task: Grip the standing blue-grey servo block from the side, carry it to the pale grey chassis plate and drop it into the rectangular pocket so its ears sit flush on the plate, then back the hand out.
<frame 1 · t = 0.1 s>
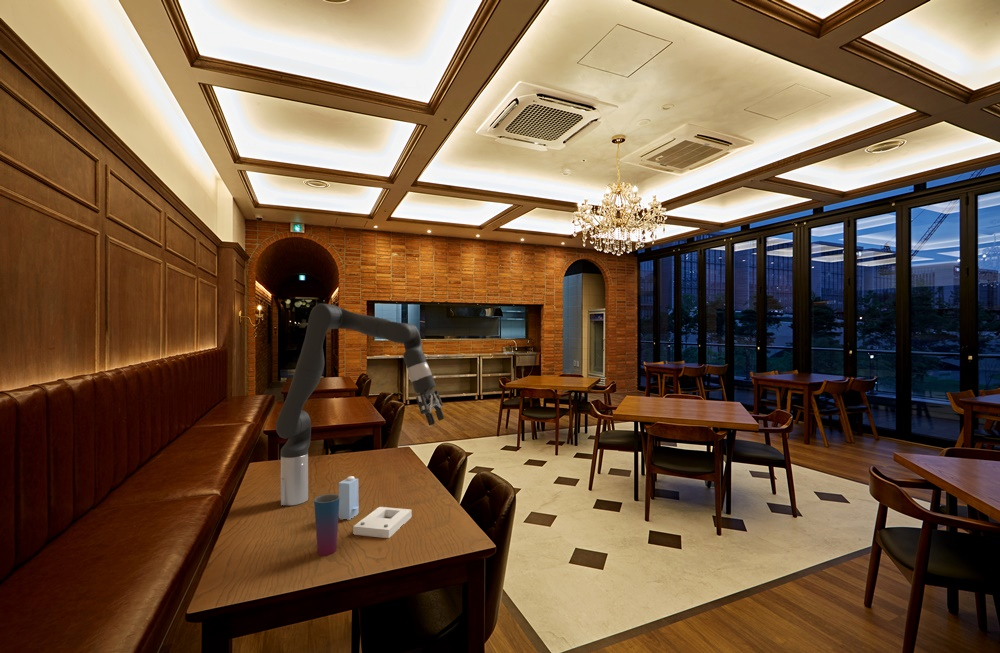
hand: (437, 422, 153), 31 cm above the table, tool tilted 20°, fingers open, 8 cm apart
cup: (327, 552, 127), on the table
servo: (348, 516, 151), on the table
chassis: (383, 525, 144), on the table
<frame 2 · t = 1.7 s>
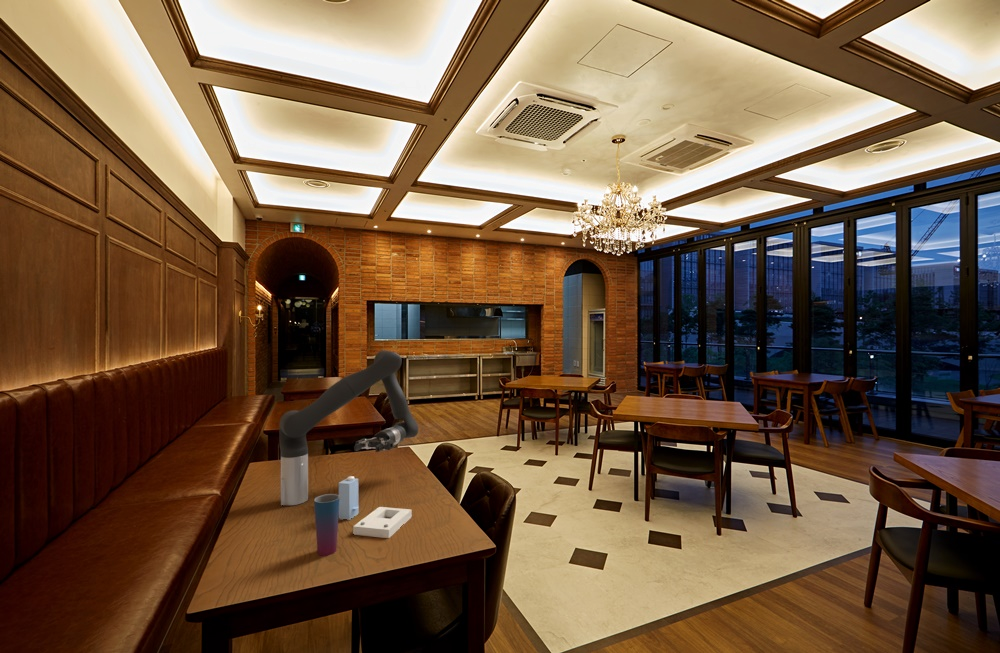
hand: (365, 448, 163), 20 cm above the table, tool horizontal, fingers open, 8 cm apart
nothing on the table moved.
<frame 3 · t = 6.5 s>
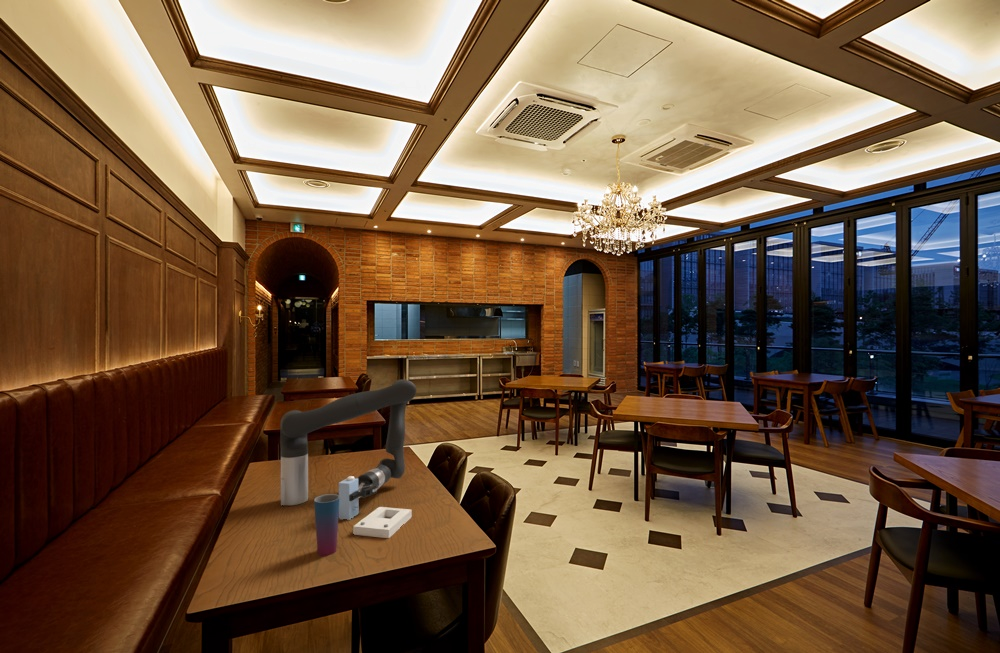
hand: (344, 497, 149), 7 cm above the table, tool horizontal, fingers closed on servo, 4 cm apart
servo: (348, 516, 151), on the table, touching gripper
everything else where it was.
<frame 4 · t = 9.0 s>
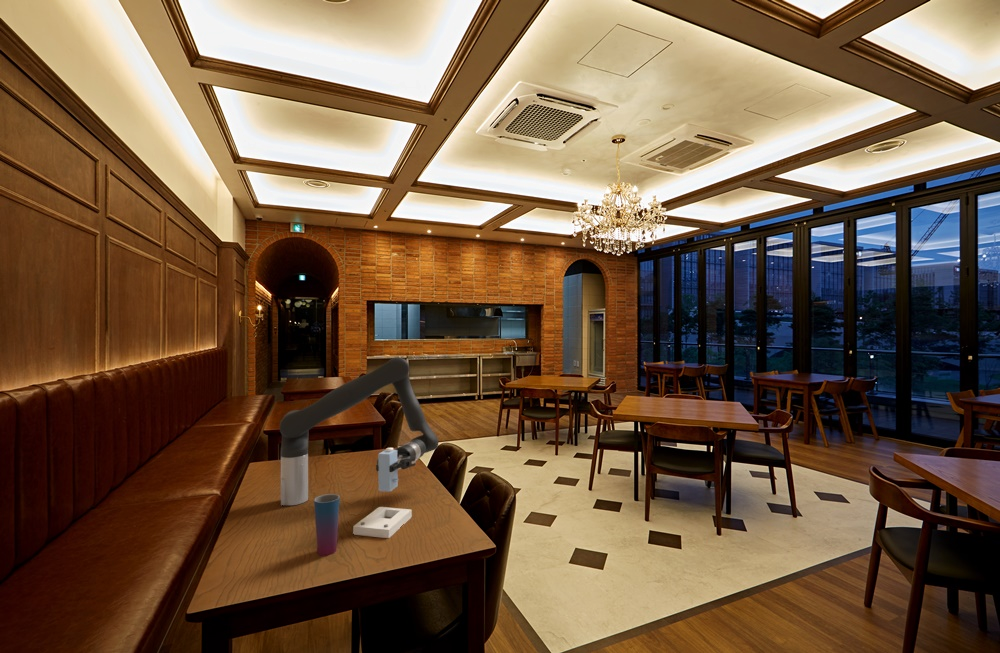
hand: (384, 468, 145), 18 cm above the table, tool horizontal, fingers closed on servo, 4 cm apart
servo: (388, 488, 147), point 11 cm above the table, touching gripper
everything else where it was.
when the fingers open (9 cm above the table, at t = 11.6 s): servo drops 1 cm, resting in chassis.
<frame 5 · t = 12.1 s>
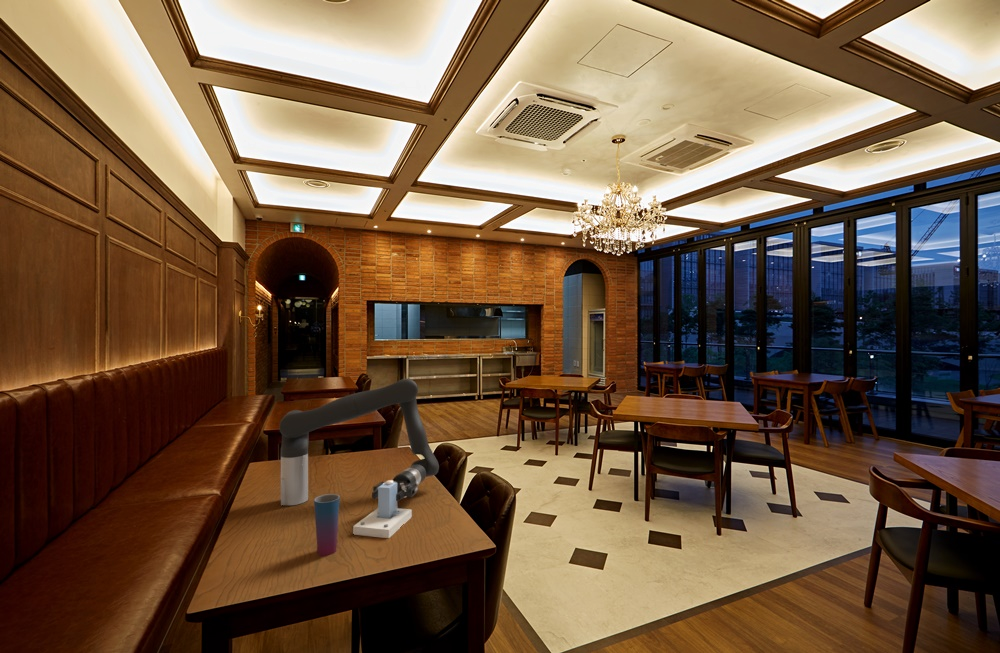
hand: (385, 497, 145), 9 cm above the table, tool horizontal, fingers open, 8 cm apart
servo: (388, 521, 147), resting in chassis
everything else where it was.
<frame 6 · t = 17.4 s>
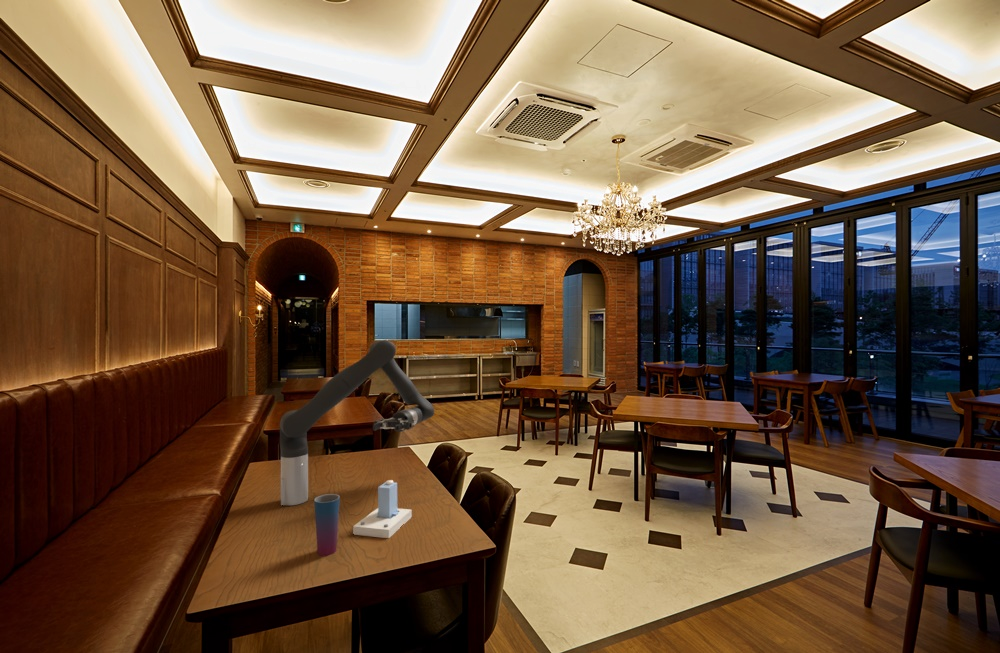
hand: (384, 428, 160), 28 cm above the table, tool horizontal, fingers open, 8 cm apart
nothing on the table moved.
at the end: servo 0.1 cm from the target spot on the chassis, point 0.0 cm above the chassis's base; servo tilted 0°; the gripper is holding nothing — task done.
